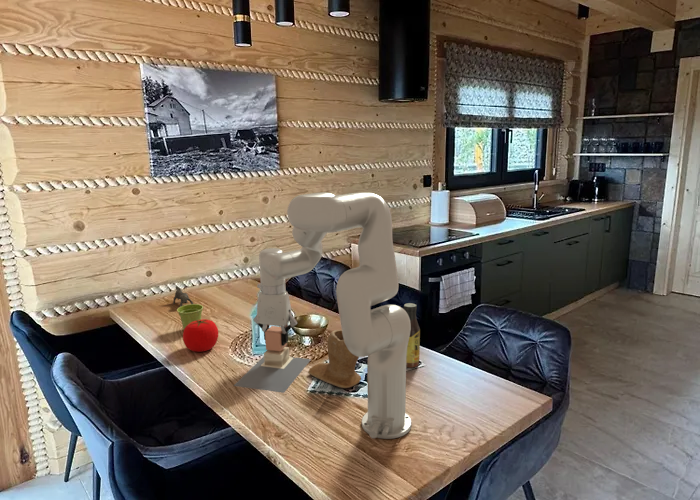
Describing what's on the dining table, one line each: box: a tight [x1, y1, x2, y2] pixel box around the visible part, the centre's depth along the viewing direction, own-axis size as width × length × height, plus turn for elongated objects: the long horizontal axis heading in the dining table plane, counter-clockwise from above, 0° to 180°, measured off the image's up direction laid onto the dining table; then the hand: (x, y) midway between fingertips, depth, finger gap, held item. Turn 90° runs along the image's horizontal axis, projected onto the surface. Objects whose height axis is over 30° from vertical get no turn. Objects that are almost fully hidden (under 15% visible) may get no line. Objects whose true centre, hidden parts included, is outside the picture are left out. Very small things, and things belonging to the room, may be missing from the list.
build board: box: [233, 356, 312, 394], centre depth 153 cm, size 22×16×1 cm
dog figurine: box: [172, 286, 194, 307], centre depth 216 cm, size 12×6×7 cm, turn 40°
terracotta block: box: [264, 325, 288, 351], centre depth 158 cm, size 5×5×6 cm
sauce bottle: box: [403, 302, 421, 369], centre depth 156 cm, size 7×6×20 cm
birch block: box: [263, 346, 291, 367], centre depth 159 cm, size 6×6×4 cm
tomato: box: [182, 318, 219, 353], centre depth 172 cm, size 12×12×10 cm
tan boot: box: [307, 329, 362, 389], centre depth 148 cm, size 15×12×15 cm
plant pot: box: [176, 303, 204, 330], centre depth 189 cm, size 9×9×9 cm
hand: (276, 342), depth 158 cm, fingers closed on terracotta block, 4 cm apart
